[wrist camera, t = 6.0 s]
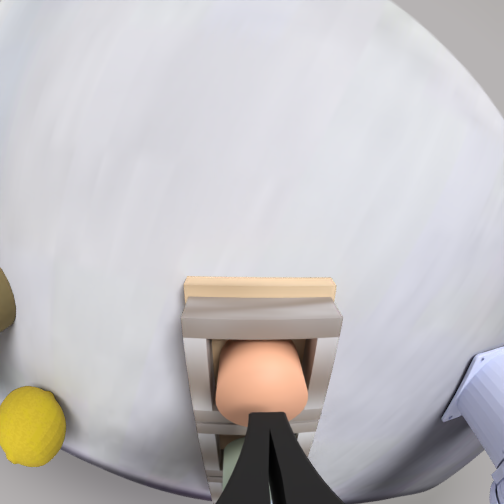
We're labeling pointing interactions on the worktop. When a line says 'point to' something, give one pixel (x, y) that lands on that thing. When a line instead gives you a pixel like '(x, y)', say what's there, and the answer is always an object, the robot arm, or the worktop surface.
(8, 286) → the pepper mill
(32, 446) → the lemon
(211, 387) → the panel
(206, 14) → the worktop surface
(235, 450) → the button sage
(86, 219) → the worktop surface
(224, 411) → the button terracotta
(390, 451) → the worktop surface
